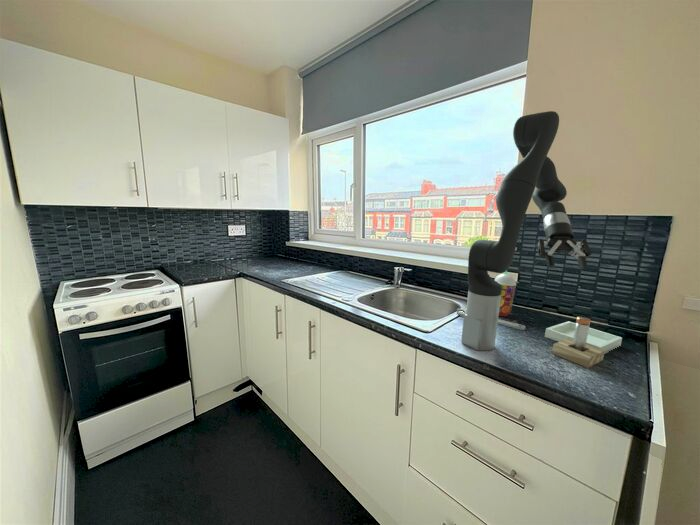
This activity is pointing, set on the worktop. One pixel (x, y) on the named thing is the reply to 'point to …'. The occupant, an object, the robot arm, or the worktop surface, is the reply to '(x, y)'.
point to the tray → (593, 338)
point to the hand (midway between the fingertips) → (567, 267)
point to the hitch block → (578, 353)
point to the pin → (581, 333)
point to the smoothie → (506, 293)
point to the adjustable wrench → (501, 322)
